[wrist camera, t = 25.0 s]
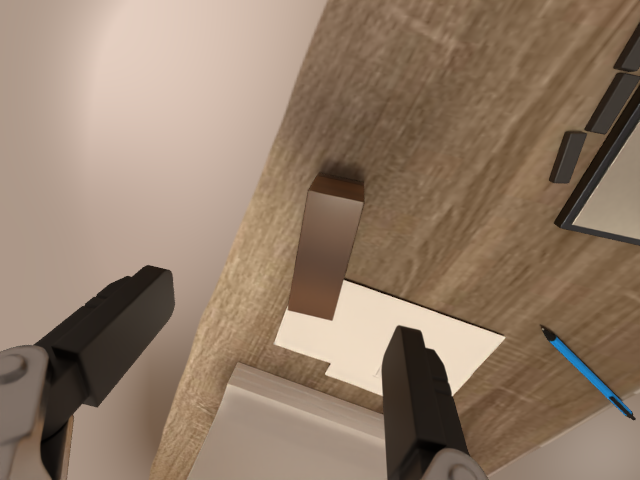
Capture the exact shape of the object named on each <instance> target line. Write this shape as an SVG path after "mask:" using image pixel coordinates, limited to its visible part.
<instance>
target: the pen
mask: <svg viewBox="0 0 640 480" xmlns="http://www.w3.org/2000/svg"><path fill="white" fill-rule="evenodd" d="M542 331H543V332H544V334H545V336H546V338H547V340H548V341H549V342H550V343H551V344H552V345H553V346H554V347H556V348H557V349H558V350H559V351H560V352H561V353H562V354H563V355H564V356H565V357H566V358H567V359H568V360H569V361H570V362H571V363H572V364H573V365H574V366H575V367H576V368H577V369H578V370H579V371H580V372H581V373H582V374H583V375H584V376H585V377H586V378H587V379H588V380H589V381H590V382H591V383H592V384H593V385H594V386H595V387H596V388H597V389H598V390H599V391H600V392H601V393H602V394H604V395H605V396H606V397H607V398H608V399H609V400H610V401H611V402H612V403H613V404H614V405H615V406H616V407H617V408H618V409H619V410H620V411H621V412H622V413H623V414H624V415H625V416H627V417H629V418H631V419H632V420H635V417H634V416H633V413H632V411H631V410H630V409H629V408H628V407H627V406H626V405H625V404H624V403H623V402H622V401H621V400H620V399H619V398H618V397H617V396H616V395H615V394H614V393H613V392H612V391H611V390H610V389H609V388H608V387H607V386H606V385H605V384H604V383H603V382H602V381H601V380H600V379H599V378H598V377H597V376H596V375H595V374H594V373H593V372H592V371H591V370H590V369H589V368H588V367H587V366H586V365H585V364H584V363H583V362H582V361H581V360H580V359H579V358H578V357H577V356H576V355H575V354H574V353H573V352H571V351H570V350H569V349H568V348H567V347H566V346H565V345H564V344H563V343H562V342H561V341H560V340H559V339H558V338H557V337H556V336H555V335H554V334H552V333H550V332H549V331H547V330H545V329H543V328H542Z"/></svg>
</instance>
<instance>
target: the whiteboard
mask: <svg viewBox="0 0 640 480" xmlns="http://www.w3.org/2000/svg"><path fill="white" fill-rule="evenodd" d="M554 224H555V225H557V226H558V227H559V228H562V229H567V230H571V231H576V232H581V233H585V234H590V235H594V236H599V237H603V238H608V239H612V240H617V241H621V242H626V243H630V244H635V245H639V246H640V86H639V88H638V90H637V91H636V93H635V94H634V96H633V98H632V99H631V101H630V102H629V104H628V106H627V107H626V109H625V110H624V112H623V114H622V115H621V117H620V118H619V120H618V122H617V123H616V125H615V126H614V128H613V130H612V131H611V133H610V134H609V136H608V138H607V139H606V141H605V142H604V144H603V146H602V147H601V149H600V150H599V152H598V154H597V155H596V157H595V159H594V160H593V162H592V163H591V165H590V167H589V168H588V170H587V171H586V173H585V175H584V176H583V178H582V179H581V181H580V183H579V184H578V186H577V187H576V189H575V191H574V192H573V194H572V195H571V197H570V199H569V200H568V202H567V203H566V205H565V207H564V208H563V210H562V211H561V213H560V215H559V216H558V218H557V219H556V221H555V223H554Z"/></svg>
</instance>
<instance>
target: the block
mask: <svg viewBox="0 0 640 480" xmlns="http://www.w3.org/2000/svg"><path fill="white" fill-rule="evenodd" d="M187 480H387V466H386V448H385V429H384V415H383V414H380V413H377V412H375V411H372V410H369V409H366V408H364V407H361V406H358V405H355V404H353V403H350V402H347V401H344V400H342V399H339V398H336V397H333V396H331V395H328V394H325V393H322V392H320V391H317V390H314V389H311V388H309V387H306V386H303V385H300V384H298V383H295V382H292V381H289V380H287V379H284V378H281V377H278V376H276V375H273V374H270V373H267V372H264V371H262V370H259V369H256V368H253V367H251V366H248V365H245V364H242V363H240V362H237V364H236V367H235V369H234V371H233V373H232V375H231V378H230V379H229V382H228V384H227V387H226V390H225V393H224V396H223V399H222V402H221V405H220V407H219V409H218V412H217V414H216V416H215V419H214V421H213V423H212V425H211V427H210V430H209V432H208V434H207V436H206V438H205V441H204V443H203V445H202V447H201V449H200V451H199V454H198V456H197V458H196V460H195V462H194V465H193V467H192V469H191V471H190V473H189V476H188V478H187Z"/></svg>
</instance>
